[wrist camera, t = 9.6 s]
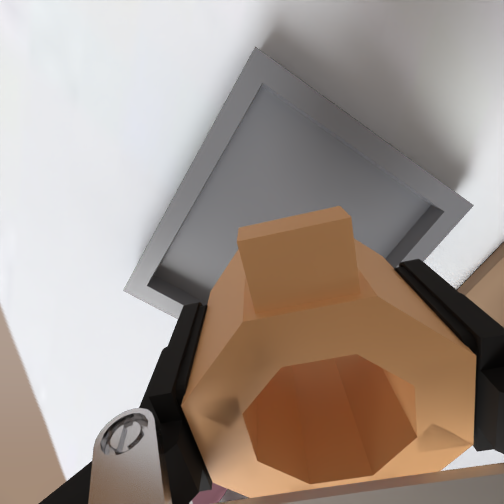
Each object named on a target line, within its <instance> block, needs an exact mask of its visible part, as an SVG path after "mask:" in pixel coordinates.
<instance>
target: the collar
mask: <svg viewBox="0 0 504 504" xmlns="http://www.w3.org/2000/svg"><path fill="white" fill-rule="evenodd" d="M237 245H238V250H237V252H236V254H235V255H234V257H233V258H232V260H231V261H230V263H229V264H228V266H227V267H226V269H225V270H224V272H223V273H222V275H221V276H220V278H219V279H218V281H217V282H216V284H215V285H214V287H213V288H212V290H211V292H210V296H209V300H208V303H207V310H206V314H205V318H204V322H203V326H202V330H201V334H200V337H199V341H198V345H197V349H196V353H195V357H194V361H193V365H192V369H191V373H190V377H189V381H188V385H187V389H186V393H185V395H184V397H183V401H182V405H181V407H182V409H183V412H184V414H185V416H186V419H187V421H188V424H189V426H190V429H191V431H192V433H193V436H194V438H195V441H196V443H197V446H198V448H199V450H200V453H201V455H202V458H203V460H204V463H205V465H206V467H207V470H208V472H209V475H210V477H211V480H212V482H213V483H215V484H217V485H220V486H222V487H225V488H227V489H229V490H232V491H234V492H237V493H239V494H242V495H244V496H246V497H249V498H254V497H261V496H268V495H275V494H281V493H288V492H295V491H302V490H310V489H317V488H324V487H331V486H338V485H345V484H352V483H359V482H366V481H373V480H381V479H388V478H395V477H402V476H409V475H417V474H424V473H431V472H439V471H441V470H442V469H443V468H444V467H446V466H447V465H448V464H450V463H451V462H452V461H453V460H455V459H456V458H457V457H458V456H460V455H461V454H462V453H463V452H465V451H466V450H467V449H468V448H470V447H471V446H472V445H473V442H474V411H475V381H476V355H475V354H474V353H473V352H472V351H471V350H470V349H469V348H468V347H467V346H466V345H465V344H464V343H463V342H462V341H461V340H460V339H459V338H458V337H457V336H456V335H455V334H454V333H453V332H452V331H451V330H450V328H449V327H448V326H447V325H446V324H445V323H444V322H443V321H442V320H441V319H440V318H439V317H438V316H437V315H436V313H435V312H434V311H433V310H432V309H431V308H430V307H429V306H428V305H427V304H426V303H425V302H424V301H423V300H422V299H421V297H420V296H419V295H418V294H417V293H416V292H415V291H414V290H413V289H412V288H411V287H410V286H409V285H408V284H407V282H406V281H405V280H404V279H403V278H402V277H401V276H400V275H399V274H398V273H397V272H396V271H395V270H394V268H393V267H392V266H391V265H390V264H389V263H388V261H387V260H386V259H385V258H384V257H383V256H381V255H380V254H378V253H376V252H375V251H373V250H372V249H370V248H369V247H367V246H365V245H364V244H362V243H361V242H359V241H358V240H356V239H354V235H353V227H352V218H351V216H350V215H349V214H348V213H347V212H346V211H345V210H344V209H343V208H342V207H341V206H336V207H332V208H327V209H322V210H318V211H313V212H309V213H304V214H300V215H295V216H290V217H286V218H281V219H277V220H272V221H267V222H263V223H258V224H254V225H249V226H244V227H240V228H239V229H238V236H237Z"/></svg>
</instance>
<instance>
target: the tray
mask: <svg viewBox="0 0 504 504" xmlns="http://www.w3.org/2000/svg"><path fill="white" fill-rule="evenodd" d="M336 206H341V207H342V208H343V209H344V210H345V211H346V212H347V213H348V214H349V215H350V216H351V218H352V227H353V235H354V239H356V240H358V241H359V242H361V243H362V244H364V245H365V246H367V247H369V248H370V249H372V250H373V251H375V252H376V253H378V254H380V255H381V256H383V257H384V258H385V259H386V260H387V261H388V263H389V264H390V265H391V266H392V267H393V268H397V267H399V263H400V262H404V261H409V260H414V259H420V260H421V261H424V260H425V259H426V258H427V257H428V256H429V255H430V254H431V252H432V251H433V250H434V249H435V248H436V247H437V246H438V245H439V244H440V242H441V241H442V240H443V239H444V238H445V237H446V236H447V235H448V234H449V232H450V231H451V230H452V229H453V228H454V227H455V226H456V225H457V223H458V222H459V221H460V220H461V219H462V218H463V217H464V216H465V215H466V213H467V212H468V211H469V210H470V209H471V208H472V207H473V206H474V205H472V204H471V203H470V202H468V201H467V200H466V199H464V198H463V197H461V196H460V195H459V194H457V193H456V192H455V191H453V190H452V189H450V188H449V187H448V186H446V185H445V184H444V183H442V182H441V181H439V180H438V179H437V178H435V177H434V176H433V175H431V174H430V173H428V172H427V171H426V170H424V169H423V168H422V167H420V166H419V165H417V164H416V163H415V162H413V161H412V160H411V159H409V158H408V157H406V156H405V155H404V154H402V153H401V152H400V151H398V150H397V149H395V148H394V147H393V146H391V145H390V144H389V143H387V142H386V141H384V140H383V139H382V138H380V137H379V136H378V135H376V134H375V133H373V132H372V131H371V130H369V129H368V128H367V127H365V126H364V125H362V124H361V123H360V122H358V121H357V120H356V119H354V118H353V117H351V116H350V115H349V114H347V113H346V112H345V111H343V110H342V109H340V108H339V107H338V106H336V105H335V104H334V103H332V102H331V101H329V100H328V99H327V98H325V97H324V96H323V95H321V94H320V93H318V92H317V91H316V90H314V89H313V88H312V87H310V86H309V85H307V84H306V83H305V82H303V81H302V80H301V79H299V78H298V77H296V76H295V75H294V74H292V73H291V72H290V71H288V70H287V69H285V68H284V67H283V66H281V65H280V64H279V63H277V62H276V61H274V60H273V59H272V58H270V57H269V56H268V55H266V54H265V53H263V52H262V51H261V50H259V49H258V48H257V47H255V48H254V50H253V52H252V54H251V56H250V58H249V59H248V61H247V63H246V65H245V67H244V69H243V71H242V72H241V74H240V76H239V78H238V80H237V82H236V83H235V85H234V87H233V89H232V91H231V93H230V94H229V96H228V98H227V100H226V102H225V104H224V106H223V107H222V109H221V111H220V113H219V115H218V117H217V118H216V120H215V122H214V124H213V126H212V128H211V129H210V131H209V133H208V135H207V137H206V139H205V141H204V142H203V144H202V146H201V148H200V150H199V152H198V153H197V155H196V157H195V159H194V161H193V163H192V164H191V166H190V168H189V170H188V172H187V174H186V175H185V177H184V179H183V181H182V183H181V185H180V187H179V188H178V190H177V192H176V194H175V196H174V198H173V199H172V201H171V203H170V205H169V207H168V209H167V210H166V212H165V214H164V216H163V218H162V220H161V222H160V223H159V225H158V227H157V229H156V231H155V233H154V234H153V236H152V238H151V240H150V242H149V244H148V245H147V247H146V249H145V251H144V253H143V255H142V257H141V258H140V260H139V262H138V264H137V266H136V268H135V269H134V271H133V273H132V275H131V277H130V279H129V280H128V282H127V284H126V286H125V288H124V290H123V291H125V292H126V293H128V294H130V295H132V296H134V297H136V298H138V299H140V300H142V301H144V302H146V303H148V304H150V305H152V306H154V307H155V308H157V309H159V310H161V311H163V312H165V313H167V314H169V315H171V316H173V317H175V318H177V319H178V318H179V316H180V313H181V311H182V308H183V306H184V305H188V304H193V303H198V302H201V303H202V305H203V306H204V305H207V303H208V300H209V296H210V292H211V290H212V288H213V287H214V285H215V284H216V282H217V281H218V279H219V278H220V276H221V275H222V273H223V272H224V270H225V269H226V267H227V266H228V264H229V263H230V261H231V260H232V258H233V257H234V255H235V254H236V252H237V250H238V245H237V236H238V229H239V228H240V227H244V226H249V225H254V224H258V223H263V222H267V221H272V220H277V219H281V218H286V217H290V216H295V215H300V214H304V213H309V212H313V211H318V210H322V209H327V208H332V207H336Z"/></svg>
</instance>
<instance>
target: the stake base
mask: <svg viewBox="0 0 504 504" xmlns="http://www.w3.org/2000/svg"><path fill="white" fill-rule="evenodd" d="M457 291H458V292H459V293H462V294H464V295H465V296H466V297H468V298H469V299H470V300H471V301H472V302H474V303H475V304H476V305H477V306H478V307H480V308H481V309H482V310H483V311H484V312H486V313H487V314H488V315H489V316H490V317H492V318H493V319H494V320H495V321H496V322H498V323H499V324H500V325H501V326H502V327H504V242H503V243H502V244H501V245H500V246H499V247H498V248H497V250H496V251H495V252H494V253H493V254H492V255H491V256H490V257H489V258H488V259H487V260H486V261H485V262H484V263H483V264H482V265H481V266H480V267H479V268H478V269H477V270H476V271H475V272H474V273H473V274H472V275H471V276H470V277H469V278H468V279H467V280H466V281H465V282H464V283H463V284H462V285H461V287H460V288H459V289H458V290H457Z"/></svg>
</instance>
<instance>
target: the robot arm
mask: <svg viewBox="0 0 504 504" xmlns="http://www.w3.org/2000/svg"><path fill="white" fill-rule="evenodd" d="M394 270H395V271H396V272H397V273H398V274H399V275H400V276H401V277H402V278H403V279H404V280H405V281H406V282H407V284H408V285H409V286H410V287H411V288H412V289H413V290H414V291H415V292H416V293H417V294H418V295H419V296H420V297H421V299H422V300H423V301H424V302H425V303H426V304H427V305H428V306H429V307H430V308H431V309H432V310H433V311H434V312H435V313H436V315H437V316H438V317H439V318H440V319H441V320H442V321H443V322H444V323H445V324H446V325H447V326H448V327H449V328H450V330H451V331H452V332H453V333H454V334H455V335H456V336H457V337H458V338H459V339H460V340H461V341H462V342H463V343H464V344H465V345H466V346H467V347H468V348H469V349H470V350H471V351H472V352H473V353H474V354H475V355H476V381H475V411H474V442H473V446H474V448H475V449H476V451H484V450H491V449H495V450H496V451H498V452H501V453H503V454H504V327H502V326H501V325H500V324H499V323H498V322H496V321H495V320H494V319H493V318H492V317H490V316H489V315H488V314H487V313H486V312H484V311H483V310H482V309H481V308H480V307H478V306H477V305H476V304H475V303H474V302H472V301H471V300H470V299H469V298H468V297H466V296H465V295H464V294H462V293H459V292H458V291H457V290H456V289H455V288H453V287H452V286H451V285H450V284H449V283H447V282H446V281H445V280H444V279H443V278H442V277H440V276H439V275H438V274H437V273H436V272H434V271H433V270H432V269H431V268H430V267H428V266H427V265H426V264H425V263H424V262H423V261H421V260H420V259H414V260H409V261H404V262H400V263H399V267H397V268H394ZM206 310H207V305H204V306H203V305H202V303H201V302H198V303H193V304H188V305H184V306H183V308H182V311H181V313H180V316H179V318H178V321H177V324H176V326H175V329H174V331H173V334H172V337H171V339H170V342H169V345H168V347H166V348H164V349H163V350H162V352H161V355H160V357H159V360H158V362H157V365H156V367H155V370H154V372H153V375H152V377H151V380H150V382H149V385H148V387H147V390H146V392H145V395H144V397H143V400H142V402H141V405H140V407H139V408H135V409H131V410H128V411H125V412H123V413H121V414H119V415H118V416H116V417H115V418H113V419H112V420H111V421H110V422H108V423H107V424H106V426H105V427H104V428H103V429H102V430H101V431H100V433H99V435H98V436H97V438H96V440H95V444H94V448H93V459H92V461H91V462H90V463H89V464H88V465H86V466H85V467H84V468H83V469H81V470H80V471H79V472H78V473H76V474H75V475H74V476H73V477H71V478H70V479H69V480H68V481H66V482H65V483H64V484H63V485H61V486H60V487H59V488H58V489H57V490H55V491H54V492H53V493H52V494H50V495H49V496H48V497H47V498H45V499H44V500H43V501H42V502H40V503H39V504H193V502H192V500H193V498H194V497H195V496H196V495H197V494H198V493H199V492H200V491H207V490H212V480H211V477H210V475H209V472H208V470H207V467H206V465H205V463H204V460H203V458H202V455H201V453H200V450H199V448H198V446H197V443H196V441H195V438H194V436H193V433H192V431H191V429H190V426H189V424H188V421H187V419H186V416H185V414H184V412H183V409H182V407H181V405H182V401H183V397H184V395H185V393H186V389H187V385H188V381H189V377H190V373H191V369H192V365H193V361H194V357H195V353H196V349H197V345H198V341H199V337H200V334H201V330H202V326H203V322H204V318H205V314H206ZM213 504H504V463H498V464H491V465H483V466H476V467H468V468H461V469H453V470H446V471H439V472H431V473H424V474H417V475H409V476H402V477H395V478H388V479H381V480H373V481H366V482H359V483H352V484H345V485H338V486H331V487H324V488H317V489H310V490H302V491H295V492H288V493H281V494H275V495H268V496H261V497H254V498H247V499H240V500H234V501H227V502H220V503H213Z"/></svg>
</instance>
